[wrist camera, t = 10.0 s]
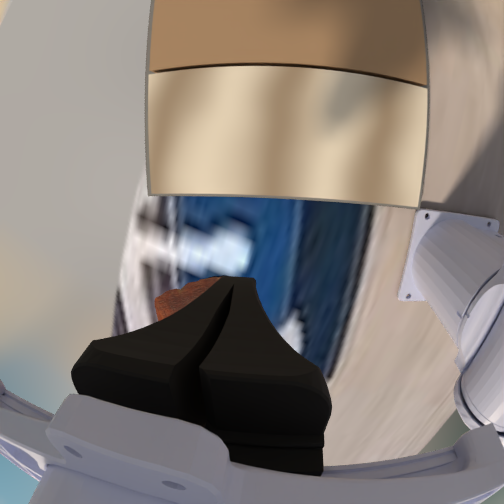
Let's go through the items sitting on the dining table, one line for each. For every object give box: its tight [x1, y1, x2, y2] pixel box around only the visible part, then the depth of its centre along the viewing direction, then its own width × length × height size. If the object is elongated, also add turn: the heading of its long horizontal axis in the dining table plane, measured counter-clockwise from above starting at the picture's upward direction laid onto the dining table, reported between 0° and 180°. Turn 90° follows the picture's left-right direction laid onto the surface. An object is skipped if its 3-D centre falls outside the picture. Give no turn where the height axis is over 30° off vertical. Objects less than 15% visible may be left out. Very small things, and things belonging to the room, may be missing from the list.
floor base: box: [145, 0, 429, 210], centre depth 16 cm, size 20×19×2 cm
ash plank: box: [148, 66, 427, 207], centre depth 17 cm, size 18×8×2 cm, turn 89°
